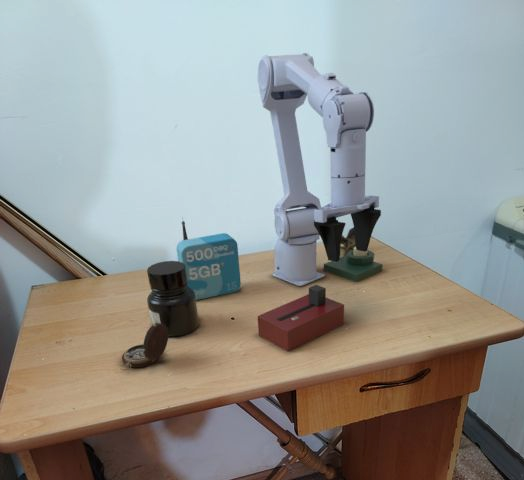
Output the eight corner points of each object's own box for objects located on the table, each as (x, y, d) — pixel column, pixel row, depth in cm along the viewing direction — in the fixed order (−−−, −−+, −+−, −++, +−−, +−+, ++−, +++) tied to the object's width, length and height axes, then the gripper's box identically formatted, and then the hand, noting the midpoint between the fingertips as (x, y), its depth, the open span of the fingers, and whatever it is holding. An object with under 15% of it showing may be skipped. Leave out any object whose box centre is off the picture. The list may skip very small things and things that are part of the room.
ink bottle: (159, 315, 95) (148, 258, 88) (202, 314, 94) (194, 257, 88) (147, 339, 86) (134, 279, 80) (195, 338, 86) (185, 277, 80)
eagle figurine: (367, 254, 115) (375, 236, 121) (351, 230, 113) (360, 213, 119) (342, 266, 120) (351, 248, 126) (326, 244, 118) (336, 227, 124)
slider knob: (308, 302, 87) (308, 287, 85) (316, 299, 88) (316, 284, 86) (317, 306, 85) (318, 291, 84) (325, 303, 86) (325, 288, 85)
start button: (350, 255, 109) (350, 248, 108) (359, 252, 111) (359, 244, 110) (361, 258, 107) (361, 251, 106) (370, 255, 109) (370, 247, 108)
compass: (136, 347, 84) (128, 310, 80) (174, 354, 81) (167, 316, 78) (107, 370, 78) (97, 332, 74) (147, 379, 75) (138, 340, 71)
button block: (323, 270, 110) (323, 256, 109) (351, 259, 116) (352, 245, 114) (356, 282, 104) (357, 267, 102) (385, 269, 109) (386, 255, 107)
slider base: (258, 335, 85) (257, 315, 83) (313, 310, 93) (313, 291, 91) (288, 351, 80) (287, 330, 78) (343, 323, 87) (344, 304, 85)
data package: (188, 302, 99) (180, 247, 93) (183, 294, 103) (175, 241, 97) (241, 290, 103) (237, 237, 97) (234, 283, 107) (230, 231, 100)
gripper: (336, 183, 72) (337, 269, 78) (394, 170, 80) (391, 249, 86) (303, 181, 77) (307, 262, 83) (361, 169, 85) (360, 243, 91)
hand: (347, 255), depth 85 cm, fingers open, 7 cm apart
